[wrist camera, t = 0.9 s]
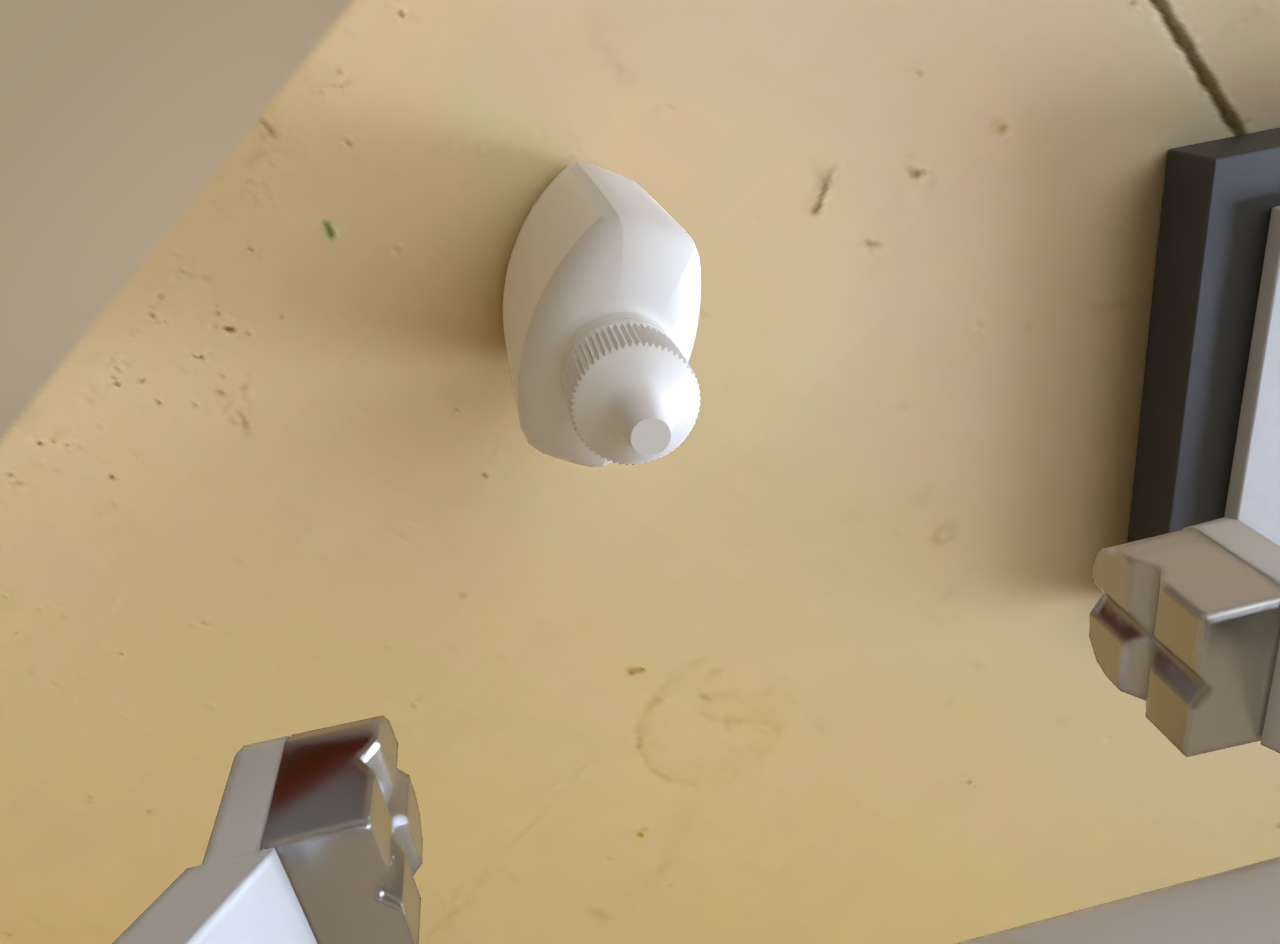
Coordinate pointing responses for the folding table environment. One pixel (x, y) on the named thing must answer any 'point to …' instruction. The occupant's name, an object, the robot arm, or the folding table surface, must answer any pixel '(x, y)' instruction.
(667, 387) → the eye dropper bottle
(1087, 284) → the folding table surface
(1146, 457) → the scale
